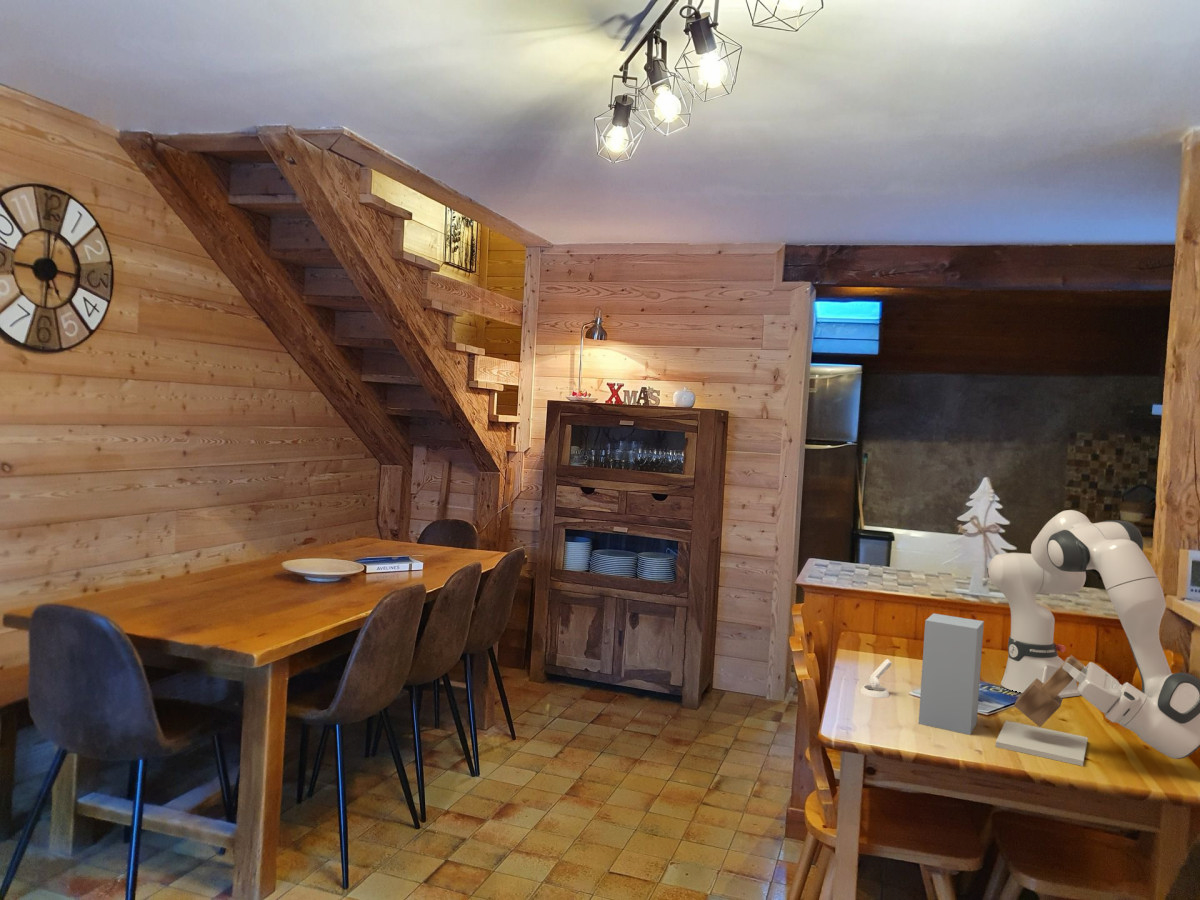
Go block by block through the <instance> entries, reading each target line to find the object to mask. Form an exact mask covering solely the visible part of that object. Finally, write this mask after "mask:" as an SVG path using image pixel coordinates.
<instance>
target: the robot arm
mask: <svg viewBox="0 0 1200 900" xmlns="http://www.w3.org/2000/svg"><path fill="white" fill-rule="evenodd" d="M1137 527H1138V526H1136V525H1135V524H1133V523H1132V522H1130V521H1127V520H1117V519H1116V520H1115V519H1111V520H1103V521H1099V522H1095V523H1093V522H1091V521H1090V519H1089V518H1088V516H1086V515H1085V514H1084V513H1082V512H1080V511H1078V510H1075V509H1068V510H1066V509H1065V510H1063V511H1061V512H1059V513H1057V514H1055V516H1053V517H1052V518H1050V520H1048V521H1047V522H1046V523H1045V524H1044V526H1043V527H1042V529H1041V530H1040V531H1039V533H1038V534H1037V536H1036V537H1035V538H1034V539H1033V540H1032V543H1031V545H1030V546H1031V547H1030V553H1026V552H1025V553H1024V552H1007V553H999V554H996V555H995V556H993V557H992V559H991V560H990V562H989V564H988V567H987V573H988V578H989V581H990V582H991V583H992V585H993V586H994V587H995V588H997V589H998V590H999V591H1000V592H1001V593H1002V594H1003V596H1004V597H1005V599H1006V600H1007V602H1008V605H1009V610H1010V636H1009V637H1008V641H1007V642H1008V643H1007V653H1008V656H1007V662H1006V667H1005V669H1004V674H1003V678H1002V679H1001V682H1000V685H1001V686H1002V687H1003V688H1005V689H1007V690H1010V691H1012V690H1013V691H1012V692H1015V691H1017V692H1016V693H1019V692H1021V693H1020V694H1022V693H1023V692H1024V691H1025V690H1026V689H1027V688H1028V687H1029V686H1030V685H1031V684H1032V682H1033V681H1034V680H1035V679H1036V678H1037V679H1039V680H1040V681H1041V682H1042V683H1043V684H1044V683H1045V682H1046V681H1047V680H1048V679H1049V678H1050V677H1051V676H1052V675H1053V674H1054V673H1055V672H1056V670H1057V669H1058V668H1059V667H1060V666H1061V665H1062V664H1063V663H1064V662H1065V661H1066V660H1067V659H1068V658H1069V657H1070V656H1068V657H1066V659H1065V660H1063V659H1062V658H1061V657H1059V654H1058V652H1061V653H1065V651H1066V650H1067V649H1066V648H1067V646H1065V645H1063V644H1060V643H1058V644H1056V643H1055V642H1054V636H1055V635H1054V633H1055V620H1056V619H1055V616H1054V614H1053V612H1052V611H1051V610H1049V609H1048V608H1047V607H1045V606H1044V605H1041V604H1039V603H1038V602H1037V601H1036V594H1051V595H1066V594H1068V595H1069V594H1074V593H1078V592H1080V591H1081V590H1082V589H1083V587H1084V585H1085V582H1086V580H1087V573H1086V570H1087V571H1088V570H1096V571H1097V572H1098V573H1099V575H1100V577H1101V580H1102V583H1103V585H1104V588H1105V591H1106V593H1107V595H1108V598H1109V599H1110V602H1111V604H1112V606H1113V608H1114V610H1115V612H1116V615H1117V617H1118V619H1119V621H1120V623H1121V626H1122V628H1123V630H1124V633H1125V635H1126V638H1127V641H1128V644H1129V647H1130V650H1131V652H1132V655H1133V658H1134V662H1135V663H1136V667H1137V669H1138V672H1139V675H1140V679H1141V690H1140V689H1138V688H1136V686H1134V685H1132V684H1131V683H1129V682H1127V681H1126V682H1124V683H1123V684H1121V683H1120V682H1119V680H1118V679H1116V678H1115V677H1114V676H1112V674H1110V673H1109V672H1107V671H1106V670H1104V669H1103V668H1101V666H1099V665H1098V664H1096V663H1095V662H1092V661H1090V662H1088V663H1087V665H1086V666H1085V665H1084V668H1083V669H1082V670H1081V671H1079V670H1078V669H1076V668H1075V667H1074V666H1073V665H1072V664H1070V663H1069V662H1065V664H1064V665H1063V666H1062V668H1063V669H1064V670H1065V671H1066V672H1068V673H1069V674H1070V675H1071V676H1072V677H1073V678H1074V679H1073V680H1072V681H1071V682H1070V683H1069V684H1068V685H1067V686H1066V687H1065V688H1064V689H1063V690H1062V691H1061V692H1060V693H1059V694H1058V696H1060V697H1061V698H1062V699H1063V698H1069V697H1078V696H1082V698H1084V699H1085V700H1086V701H1087V702H1089V703H1090V704H1091V705H1092V706H1094V707H1095V708H1096V709H1097V710H1099V711H1100V712H1101V713H1103V714H1104V717H1105V718H1106V719H1107V720H1108V721H1110V722H1112V723H1118V724H1119V726H1122V727H1123V728H1125V729H1128V730H1130V731H1131V732H1133V733H1134V734H1136V736H1137V737H1138V738H1139V740H1141V741H1143V742H1144V743H1145V744H1146V745H1149V746H1150V747H1151V748H1153V749H1155V750H1156V751H1158V752H1159V753H1161V754H1163V755H1164V756H1167V757H1168V758H1171V759H1174V760H1176V759H1177V760H1181V759H1185V758H1187V757H1190V756H1191V755H1193V753H1195V752H1196V751H1197V750H1198V749H1199V748H1200V678H1198V677H1196V676H1195V675H1193V674H1191V673H1188V672H1175V673H1172V671H1171V668H1170V666H1169V663H1168V660H1167V657H1166V654H1165V652H1164V649H1163V646H1162V643H1161V641H1160V626H1161V622H1162V620H1163V617H1164V614H1165V612H1166V607H1167V604H1166V599H1165V594H1164V591H1163V588H1162V586H1161V583H1160V581H1159V579H1158V576H1157V574H1156V572H1155V570H1154V568H1153V567H1152V564H1151V563H1150V561H1149V559H1148V557H1147V556H1146V555H1145V553H1144V551H1143V549H1144V539H1143V536H1142V533H1141V531H1140V529H1138V528H1137Z"/></svg>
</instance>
